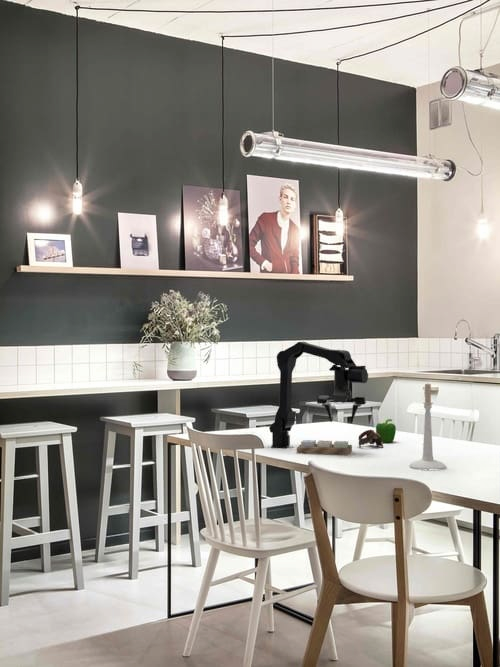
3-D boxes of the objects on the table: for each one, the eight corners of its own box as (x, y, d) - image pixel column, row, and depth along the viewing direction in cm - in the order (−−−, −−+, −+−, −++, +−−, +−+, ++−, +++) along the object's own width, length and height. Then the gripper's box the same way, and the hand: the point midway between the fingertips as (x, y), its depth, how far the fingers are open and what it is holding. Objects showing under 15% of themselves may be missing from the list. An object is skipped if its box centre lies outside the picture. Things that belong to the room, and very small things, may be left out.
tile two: (317, 448, 338) (317, 441, 338) (319, 446, 343) (319, 440, 343) (330, 448, 337) (330, 442, 337) (331, 446, 342) (331, 440, 342)
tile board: (296, 453, 337) (296, 447, 337) (302, 449, 348) (302, 443, 348) (347, 455, 332) (347, 449, 332) (351, 450, 343) (351, 444, 343)
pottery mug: (386, 450, 348) (377, 433, 346) (364, 460, 350) (355, 443, 348) (383, 438, 359) (374, 422, 358) (363, 448, 361) (354, 431, 359)
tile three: (333, 448, 337) (333, 442, 337) (335, 447, 341) (335, 440, 341) (346, 449, 335) (346, 442, 335) (348, 447, 340) (348, 441, 340)
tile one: (301, 447, 340) (301, 441, 340) (303, 445, 345) (303, 439, 345) (313, 448, 338) (313, 441, 338) (315, 446, 343) (315, 440, 343)
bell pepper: (373, 443, 365) (373, 419, 364) (378, 440, 372) (378, 417, 372) (393, 444, 362) (393, 420, 361) (397, 441, 369) (397, 418, 369)
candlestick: (428, 463, 314) (428, 380, 313) (454, 468, 303) (454, 383, 302) (401, 466, 307) (401, 382, 306) (427, 471, 296) (427, 384, 296)
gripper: (315, 383, 333) (315, 423, 333) (363, 384, 329) (363, 425, 329) (319, 381, 343) (319, 420, 344) (366, 382, 339) (366, 421, 340)
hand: (341, 421), depth 339 cm, fingers open, 8 cm apart
